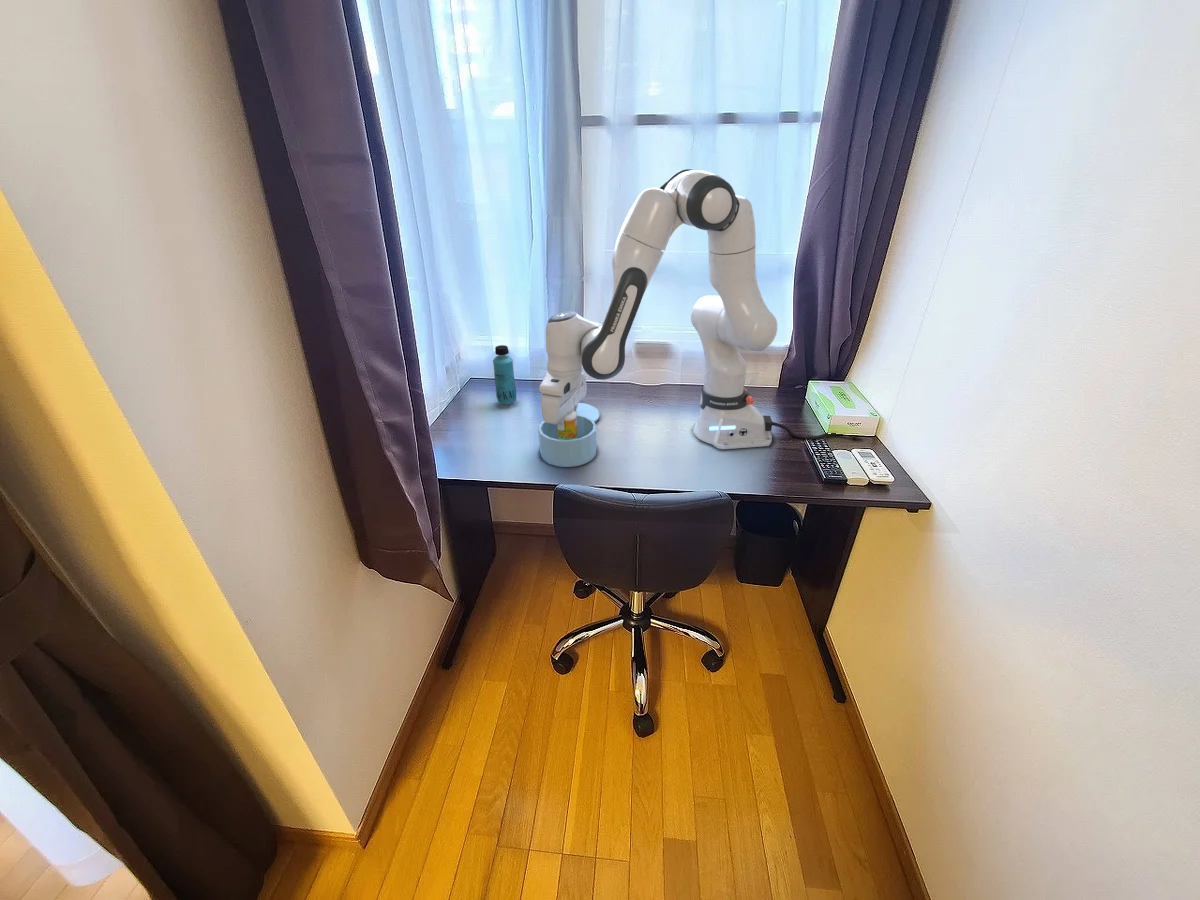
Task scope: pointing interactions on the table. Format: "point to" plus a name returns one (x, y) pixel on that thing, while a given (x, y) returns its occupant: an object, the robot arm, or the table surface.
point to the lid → (588, 411)
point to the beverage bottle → (504, 376)
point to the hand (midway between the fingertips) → (567, 423)
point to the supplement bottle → (569, 426)
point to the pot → (568, 444)
